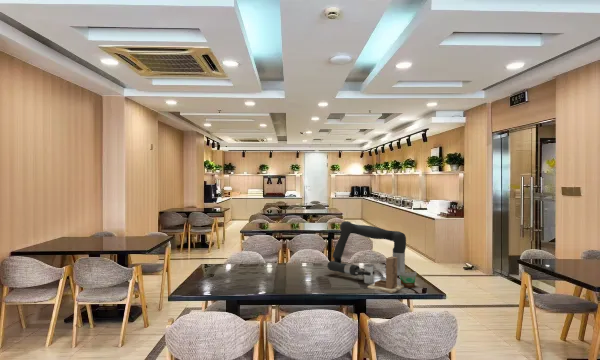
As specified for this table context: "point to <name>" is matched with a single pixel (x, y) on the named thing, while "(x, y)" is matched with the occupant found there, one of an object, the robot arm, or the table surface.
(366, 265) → the grey rectangular block
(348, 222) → the robot arm
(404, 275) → the food container
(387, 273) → the wooden backboard stand
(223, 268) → the table surface
